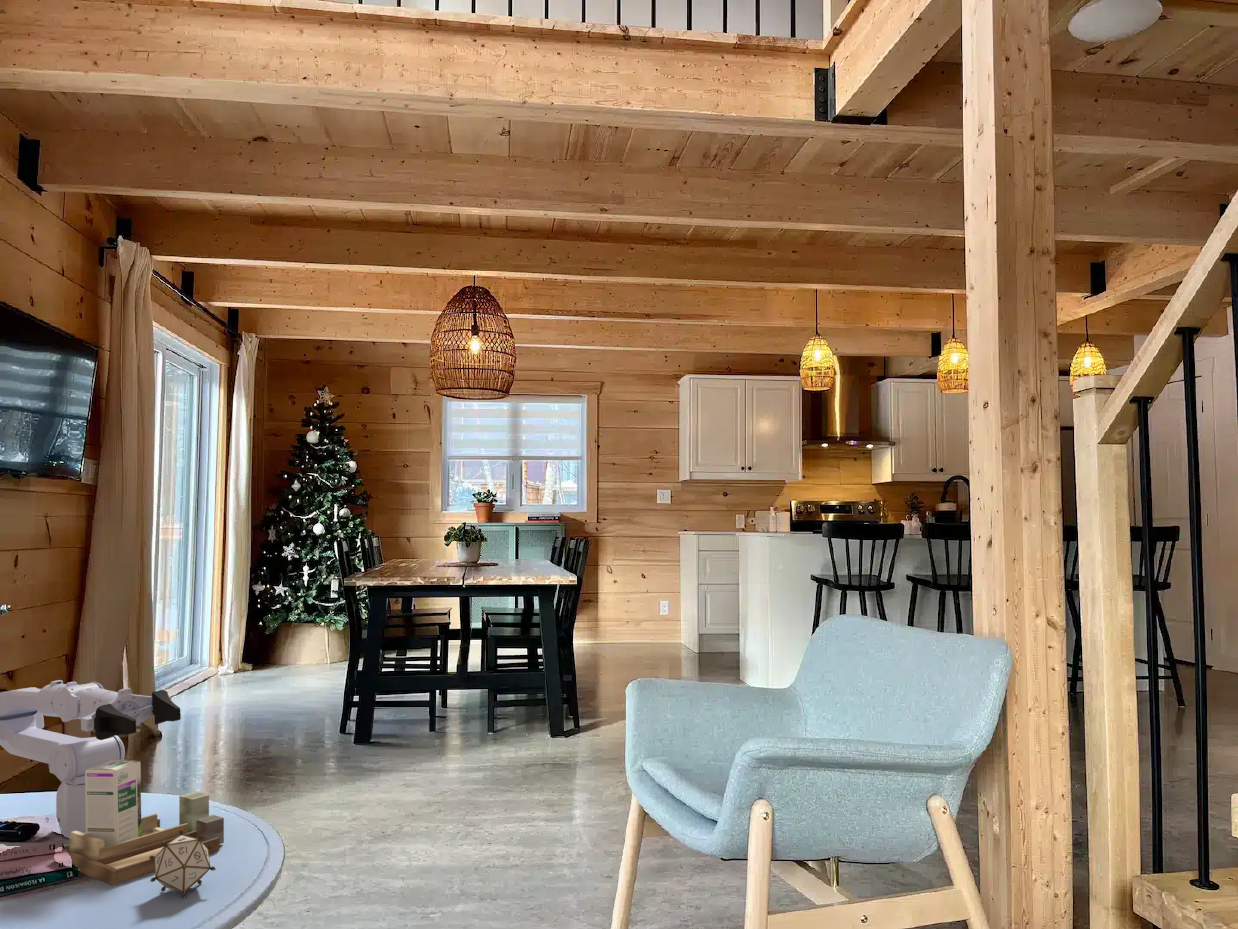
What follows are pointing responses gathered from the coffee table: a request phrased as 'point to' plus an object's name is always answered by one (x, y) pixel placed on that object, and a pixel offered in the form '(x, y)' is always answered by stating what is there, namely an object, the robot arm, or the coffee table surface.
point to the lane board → (128, 872)
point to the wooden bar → (205, 827)
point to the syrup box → (113, 801)
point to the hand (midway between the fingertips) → (156, 720)
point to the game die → (181, 863)
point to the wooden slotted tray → (145, 830)
